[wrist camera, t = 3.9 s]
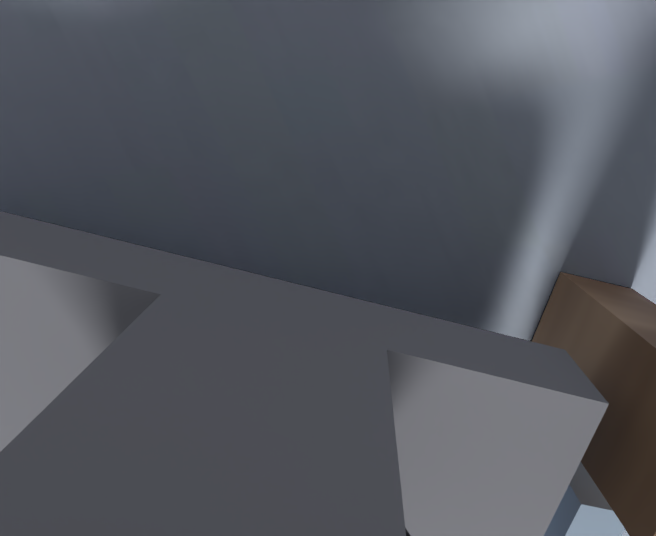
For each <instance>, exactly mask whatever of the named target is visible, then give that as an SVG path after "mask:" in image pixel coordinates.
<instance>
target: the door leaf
mask: <svg viewBox="0 0 656 536" xmlns="http://www.w3.org/2000/svg"><path fill="white" fill-rule="evenodd" d="M624 530H625V528H624V526H623V525H622V523H621V522H620V520H619V519H618V517H617V516H616V514H615V513H614V511H613V510H612V508H611V507H610V505H609V504H608V502H607V501H606V499H605V498H604V496H603V495H602V493H601V492H600V490H599V489H598V487H597V486H596V484H595V483H594V481H593V480H592V478H591V477H590V475H589V473H588V472H587V470H586V469H585V467H584V466H583V464H582V463H581V462H580V464H579V466H578V468H577V470H576V472H575V474H574V476H573V478H572V480H571V482H570V484H569V486H568V488H567V490H566V492H565V494H564V496H563V498H562V500H561V502H560V504H559V506H558V508H557V510H556V512H555V514H554V516H553V518H552V520H551V522H550V524H549V526H548V528H547V530H546V532H545V534H544V536H621V535H622V533H623V532H624Z"/></svg>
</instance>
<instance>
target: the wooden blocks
mask: <svg viewBox="0 0 656 536" xmlns="http://www.w3.org/2000/svg"><path fill="white" fill-rule="evenodd" d="M531 342H535V343H539V344H544V345H548V346H552V347H556V348H560V349H564V350H566V351H567V353H568V354H569V355H570V356H571V358H572V359H573V360H574V361H575V362H576V364H577V365H578V366H579V367H580V369H581V370H582V371H583V372H584V374H585V375H586V376H587V377H588V378H589V380H590V381H591V382H592V383H593V385H594V386H595V387H596V388H597V390H598V391H599V392H600V393H601V394H602V396H603V397H604V398H605V399H606V401H607V402H608V403H609V405H608V407H607V409H606V411H605V413H604V415H603V417H602V419H601V421H600V423H599V425H598V427H597V429H596V431H595V433H594V435H593V437H592V439H591V441H590V443H589V445H588V447H587V450H586V452H585V454H584V456H583V458H582V460H581V463H582V464H583V466H584V467H585V469H586V470H587V472H588V473H589V475H590V477H591V478H592V480H593V481H594V483H595V484H596V486H597V487H598V489H599V490H600V492H601V493H602V495H603V496H604V498H605V499H606V501H607V502H608V504H609V505H610V507H611V508H612V510H613V511H614V513H615V514H616V516H617V517H618V519H619V520H620V522H621V523H622V525H623V526H624V528H625V529H626V531H627V532H628V534H629V535H630V536H656V304H654V303H653V302H651V301H650V300H648V299H647V298H645V297H644V296H642V295H641V294H639V293H638V292H636V291H635V290H633V289H631V288H627V287H622V286H618V285H614V284H610V283H605V282H601V281H597V280H593V279H589V278H584V277H580V276H576V275H572V274H567V273H563V272H560V274H559V277H558V279H557V282H556V284H555V286H554V289H553V291H552V294H551V296H550V298H549V301H548V303H547V306H546V308H545V310H544V313H543V315H542V317H541V320H540V322H539V325H538V327H537V329H536V332H535V334H534V337H533V339H532V341H531Z"/></svg>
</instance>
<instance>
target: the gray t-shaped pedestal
mask: <svg viewBox="0 0 656 536" xmlns="http://www.w3.org/2000/svg"><path fill="white" fill-rule="evenodd" d="M608 405H609V403H608V402H607V401H606V399H605V398H604V397H603V396H602V394H601V393H600V392H599V391H598V390H597V388H596V387H595V386H594V385H593V383H592V382H591V381H590V380H589V378H588V377H587V376H586V375H585V374H584V372H583V371H582V370H581V369H580V367H579V366H578V365H577V364H576V362H575V361H574V360H573V359H572V358H571V356H570V355H569V354H568V353H567V351H566V350H564V349H560V348H556V347H552V346H548V345H544V344H539V343H535V342H531V341H527V340H523V339H519V338H515V337H511V336H507V335H503V334H499V333H495V332H491V331H487V330H482V329H478V328H474V327H470V326H466V325H462V324H458V323H454V322H450V321H446V320H442V319H438V318H434V317H430V316H425V315H421V314H417V313H413V312H409V311H405V310H401V309H397V308H393V307H389V306H385V305H381V304H377V303H373V302H368V301H364V300H360V299H356V298H352V297H348V296H344V295H340V294H336V293H332V292H328V291H324V290H320V289H316V288H312V287H307V286H303V285H299V284H295V283H291V282H287V281H283V280H279V279H275V278H271V277H267V276H263V275H259V274H255V273H250V272H246V271H242V270H238V269H234V268H230V267H226V266H222V265H218V264H214V263H210V262H206V261H202V260H198V259H193V258H189V257H185V256H181V255H177V254H173V253H169V252H165V251H161V250H157V249H153V248H149V247H145V246H141V245H136V244H132V243H128V242H124V241H120V240H116V239H112V238H108V237H104V236H100V235H96V234H92V233H88V232H84V231H79V230H75V229H71V228H67V227H63V226H59V225H55V224H51V223H47V222H43V221H39V220H35V219H31V218H27V217H22V216H18V215H14V214H10V213H6V212H2V211H0V536H406V530H405V527H406V529H407V531H408V532H409V534H410V535H411V536H544V534H545V532H546V530H547V528H548V526H549V524H550V522H551V520H552V518H553V516H554V514H555V512H556V510H557V508H558V506H559V504H560V502H561V500H562V498H563V496H564V494H565V492H566V490H567V488H568V486H569V484H570V482H571V480H572V478H573V476H574V474H575V472H576V470H577V468H578V466H579V464H580V462H581V460H582V458H583V456H584V454H585V452H586V450H587V447H588V445H589V443H590V441H591V439H592V437H593V435H594V433H595V431H596V429H597V427H598V425H599V423H600V421H601V419H602V417H603V415H604V413H605V411H606V409H607V407H608Z"/></svg>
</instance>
